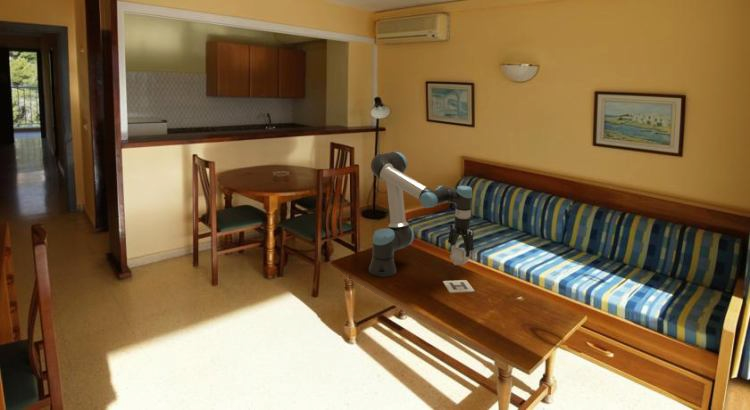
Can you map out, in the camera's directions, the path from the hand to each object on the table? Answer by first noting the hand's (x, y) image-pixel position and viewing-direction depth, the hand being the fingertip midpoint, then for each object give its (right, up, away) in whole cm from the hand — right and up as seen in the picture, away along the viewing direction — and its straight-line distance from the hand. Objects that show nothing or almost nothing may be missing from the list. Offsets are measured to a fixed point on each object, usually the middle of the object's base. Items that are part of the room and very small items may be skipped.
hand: (459, 259), depth 250 cm
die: (0, -2, 0) cm, 2 cm away
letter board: (0, -15, +5) cm, 16 cm away
